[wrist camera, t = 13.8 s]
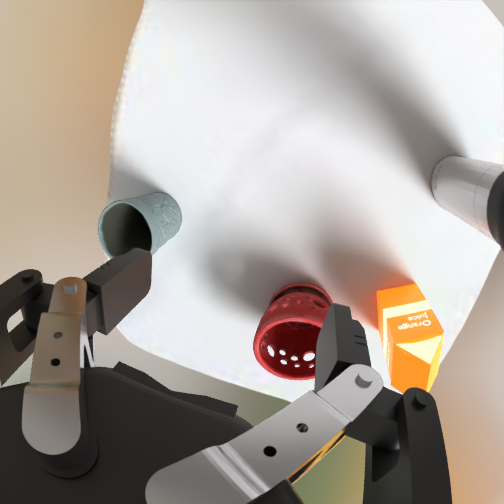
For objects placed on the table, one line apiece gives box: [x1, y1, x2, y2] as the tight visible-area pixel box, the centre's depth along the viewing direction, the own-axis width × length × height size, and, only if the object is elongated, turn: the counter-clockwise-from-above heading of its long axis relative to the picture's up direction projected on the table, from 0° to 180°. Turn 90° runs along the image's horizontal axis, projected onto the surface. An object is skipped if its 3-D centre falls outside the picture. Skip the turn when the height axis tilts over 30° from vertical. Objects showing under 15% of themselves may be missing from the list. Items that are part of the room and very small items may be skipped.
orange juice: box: [377, 283, 444, 394], centre depth 38 cm, size 8×9×20 cm
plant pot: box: [253, 283, 333, 380], centre depth 45 cm, size 13×13×12 cm
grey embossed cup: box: [98, 193, 182, 259], centre depth 44 cm, size 10×10×12 cm
